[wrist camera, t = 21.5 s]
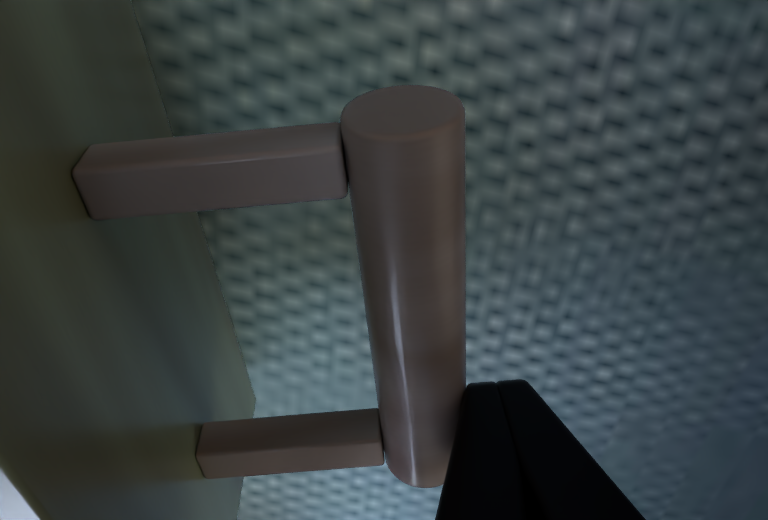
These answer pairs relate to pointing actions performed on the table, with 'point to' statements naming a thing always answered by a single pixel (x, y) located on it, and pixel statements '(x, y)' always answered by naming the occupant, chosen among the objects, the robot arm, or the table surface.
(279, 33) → the table surface
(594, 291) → the table surface
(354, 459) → the drawer
